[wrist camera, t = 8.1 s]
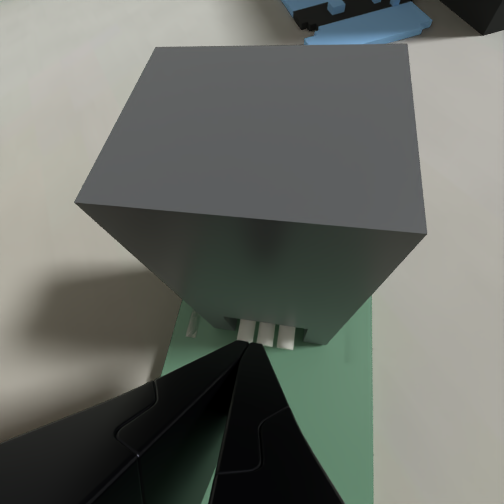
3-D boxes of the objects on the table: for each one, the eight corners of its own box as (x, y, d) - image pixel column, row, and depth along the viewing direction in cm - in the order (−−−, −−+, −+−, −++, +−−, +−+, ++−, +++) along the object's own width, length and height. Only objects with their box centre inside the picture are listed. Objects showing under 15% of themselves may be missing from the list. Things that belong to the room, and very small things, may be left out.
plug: (325, 345, 15) (427, 233, 4) (214, 327, 16) (74, 202, 5) (330, 260, 17) (406, 43, 6) (231, 249, 18) (155, 47, 7)
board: (366, 681, 11) (375, 712, 10) (110, 594, 13) (94, 612, 12) (366, 245, 19) (371, 237, 18) (208, 230, 21) (204, 221, 20)
